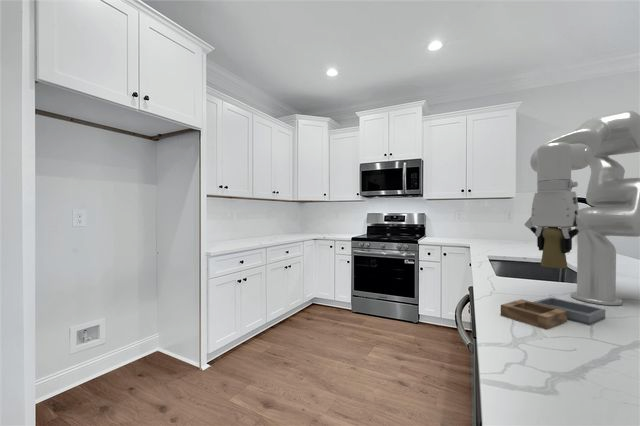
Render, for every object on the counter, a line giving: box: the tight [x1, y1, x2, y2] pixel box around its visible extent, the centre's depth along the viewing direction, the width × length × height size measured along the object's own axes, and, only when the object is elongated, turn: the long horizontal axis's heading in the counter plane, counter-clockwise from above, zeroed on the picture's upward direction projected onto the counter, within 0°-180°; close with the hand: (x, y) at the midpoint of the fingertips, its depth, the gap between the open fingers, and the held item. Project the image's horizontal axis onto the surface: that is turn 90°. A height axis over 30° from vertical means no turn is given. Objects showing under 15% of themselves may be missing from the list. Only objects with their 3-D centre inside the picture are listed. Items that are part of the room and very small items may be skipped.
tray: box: [533, 297, 606, 326], centre depth 84 cm, size 11×13×2 cm
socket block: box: [500, 299, 568, 330], centre depth 80 cm, size 11×11×3 cm
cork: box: [540, 227, 569, 269], centre depth 82 cm, size 6×6×11 cm
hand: (553, 250), depth 82 cm, fingers closed on cork, 4 cm apart
